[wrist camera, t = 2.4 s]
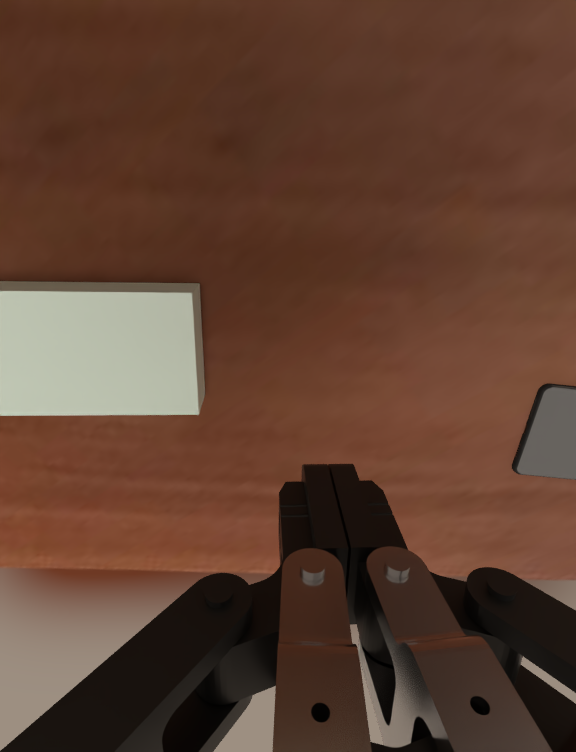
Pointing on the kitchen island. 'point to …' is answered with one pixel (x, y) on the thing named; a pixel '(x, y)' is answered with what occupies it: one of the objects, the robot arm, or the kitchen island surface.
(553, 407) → the smartphone
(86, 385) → the sage green bar
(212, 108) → the kitchen island surface
